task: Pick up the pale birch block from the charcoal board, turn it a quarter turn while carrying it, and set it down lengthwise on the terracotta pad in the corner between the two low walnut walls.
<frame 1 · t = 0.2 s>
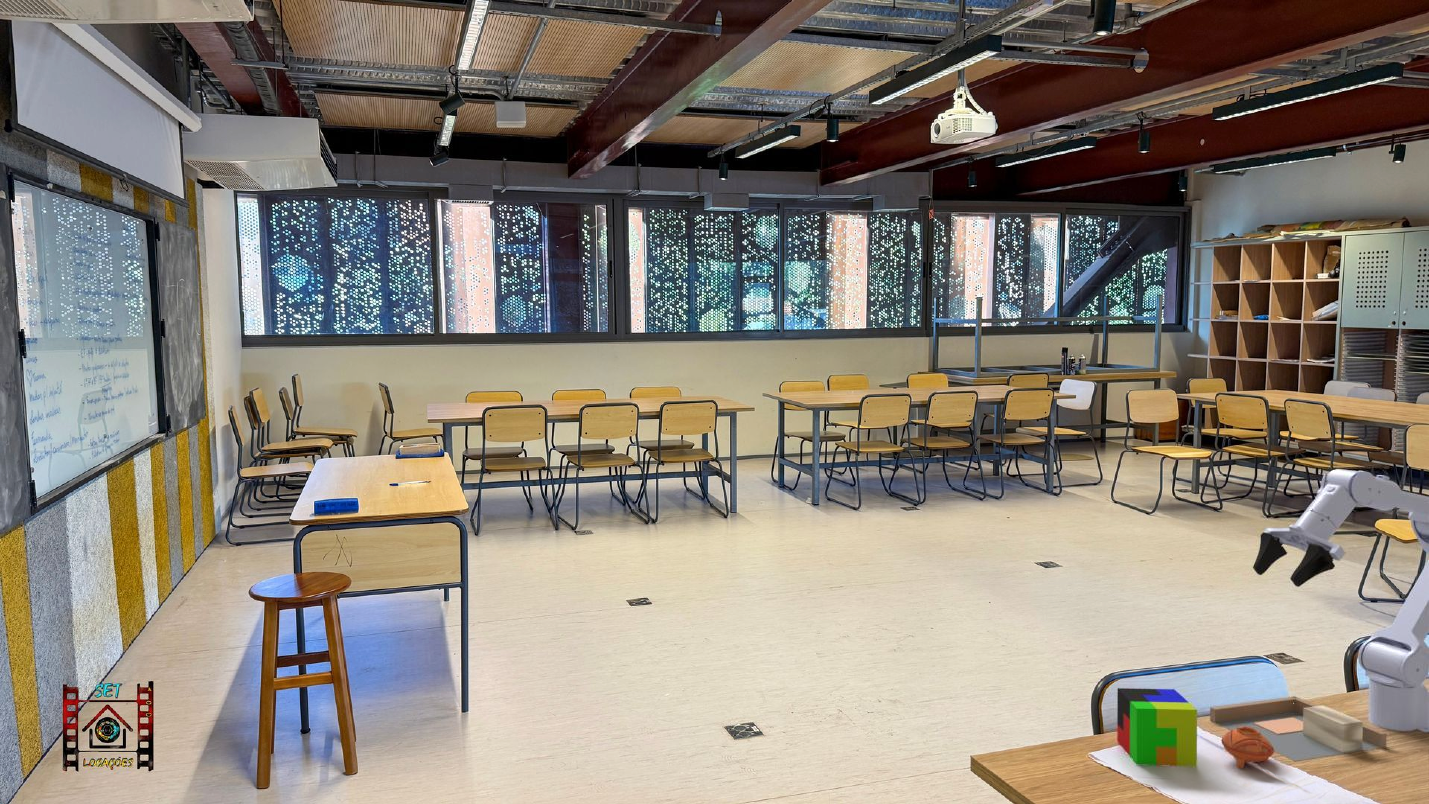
hand: (1275, 577, 166), 31 cm above the table, tool tilted 45°, fingers open, 7 cm apart
birch block: (1332, 741, 167), point 1 cm above the table, touching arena
pot: (1247, 765, 161), on the table
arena: (1294, 737, 171), on the table
puzzle toy: (1155, 754, 165), on the table
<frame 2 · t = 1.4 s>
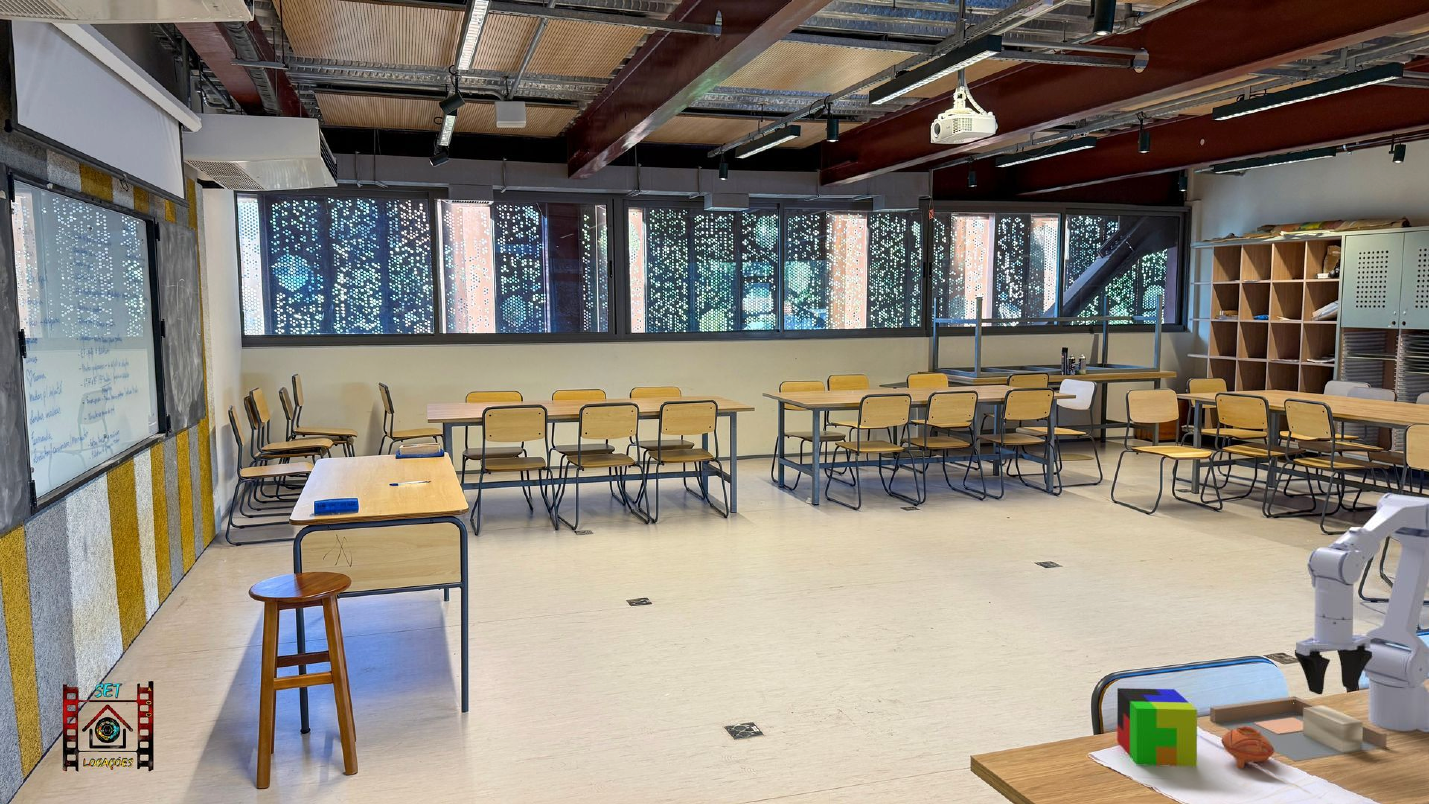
hand: (1332, 690, 167), 10 cm above the table, tool pointing down, fingers open, 7 cm apart
nothing on the table moved.
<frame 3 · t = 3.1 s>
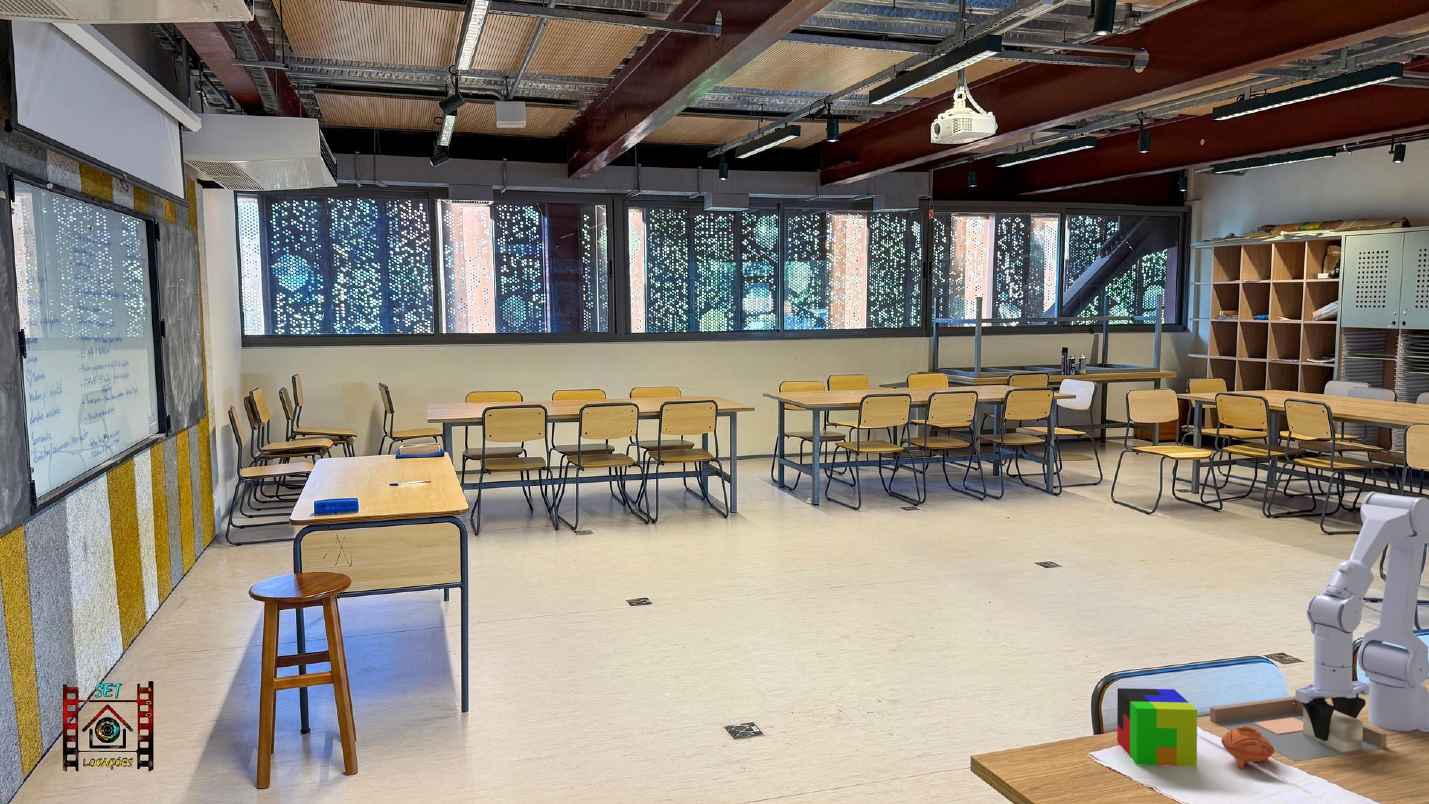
hand: (1332, 737, 167), 2 cm above the table, tool pointing down, fingers closed on birch block, 4 cm apart
birch block: (1332, 741, 167), point 1 cm above the table, touching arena, gripper
everything else where it was.
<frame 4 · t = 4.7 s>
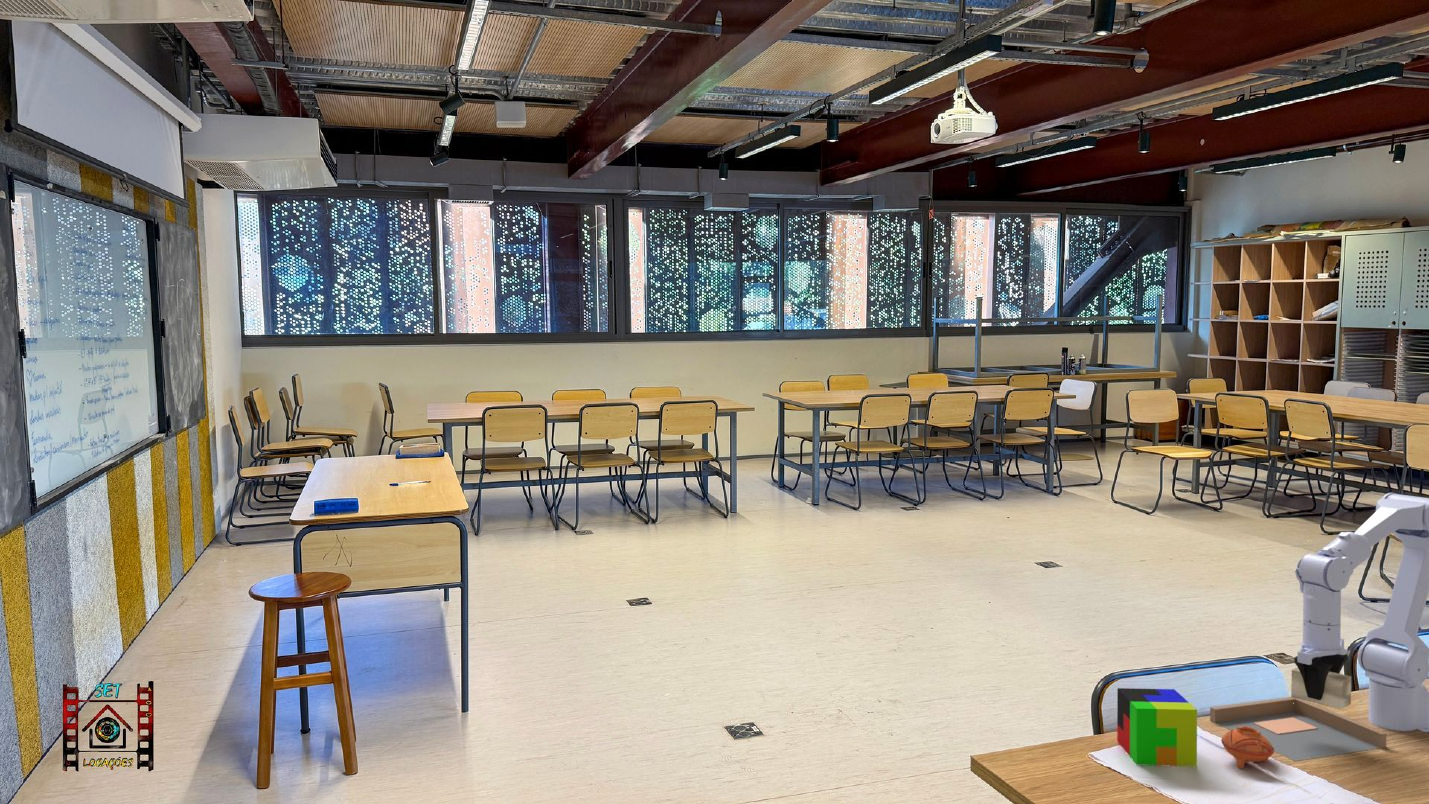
hand: (1320, 695, 168), 9 cm above the table, tool pointing down, fingers closed on birch block, 4 cm apart
birch block: (1320, 700, 168), point 8 cm above the table, touching gripper
everything else where it was.
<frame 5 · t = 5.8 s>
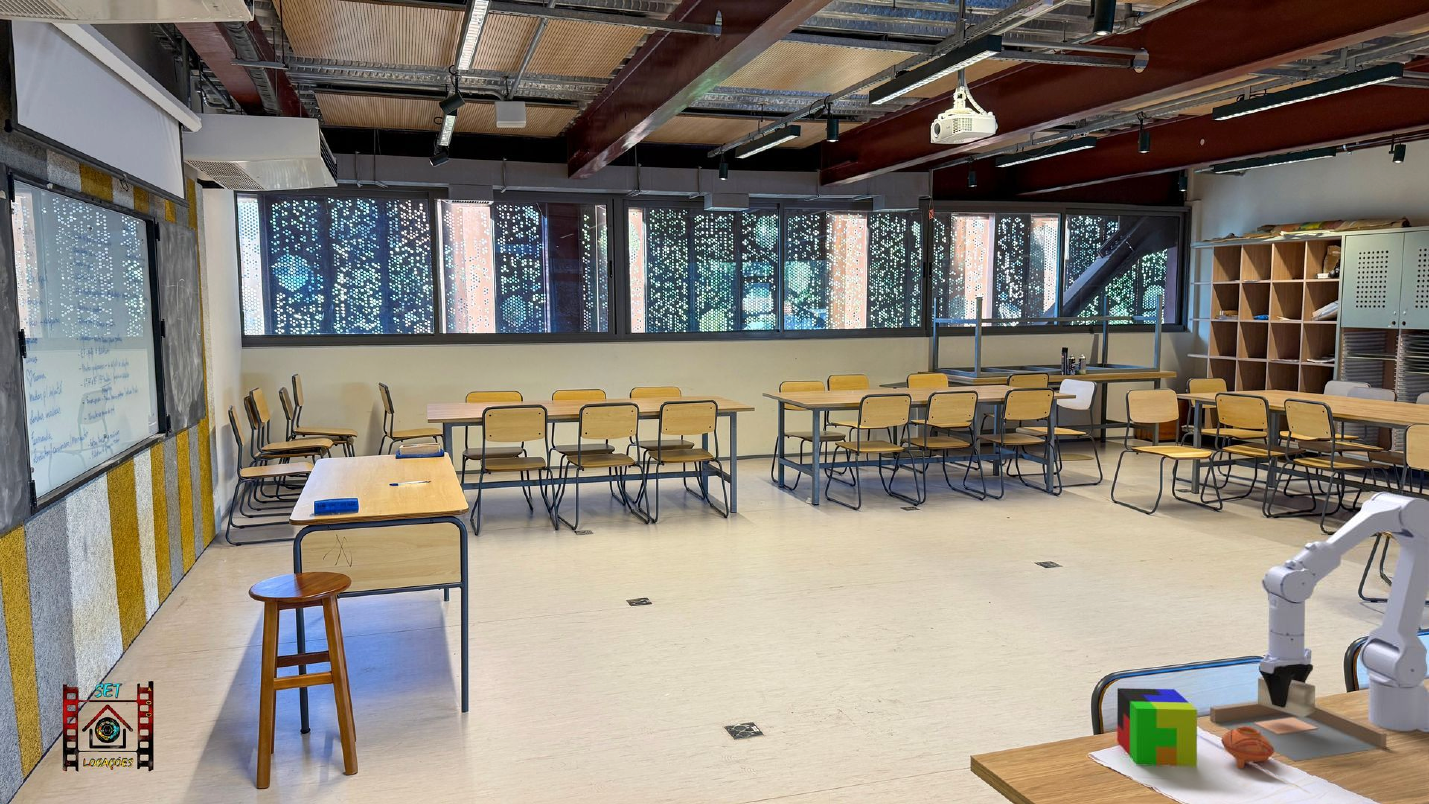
hand: (1285, 703, 174), 5 cm above the table, tool pointing down, fingers closed on birch block, 4 cm apart
birch block: (1285, 708, 174), point 4 cm above the table, touching gripper
everything else where it was.
when the fingers open (3 cm above the table, at t = 6.6 s): birch block drops 1 cm, resting on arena.
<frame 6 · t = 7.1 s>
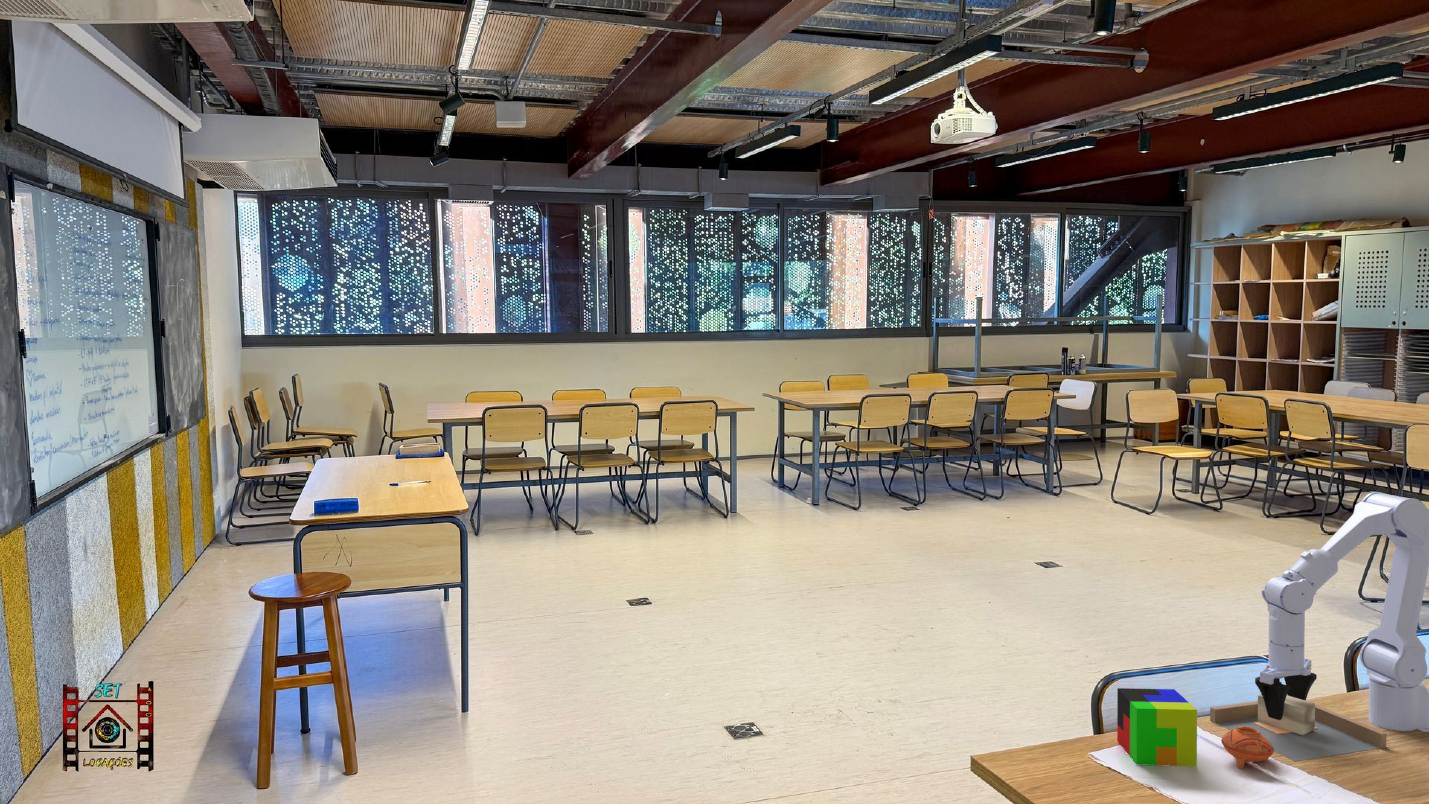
hand: (1285, 713, 174), 3 cm above the table, tool pointing down, fingers open, 7 cm apart
birch block: (1285, 725, 174), point 1 cm above the table, touching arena
everything else where it was.
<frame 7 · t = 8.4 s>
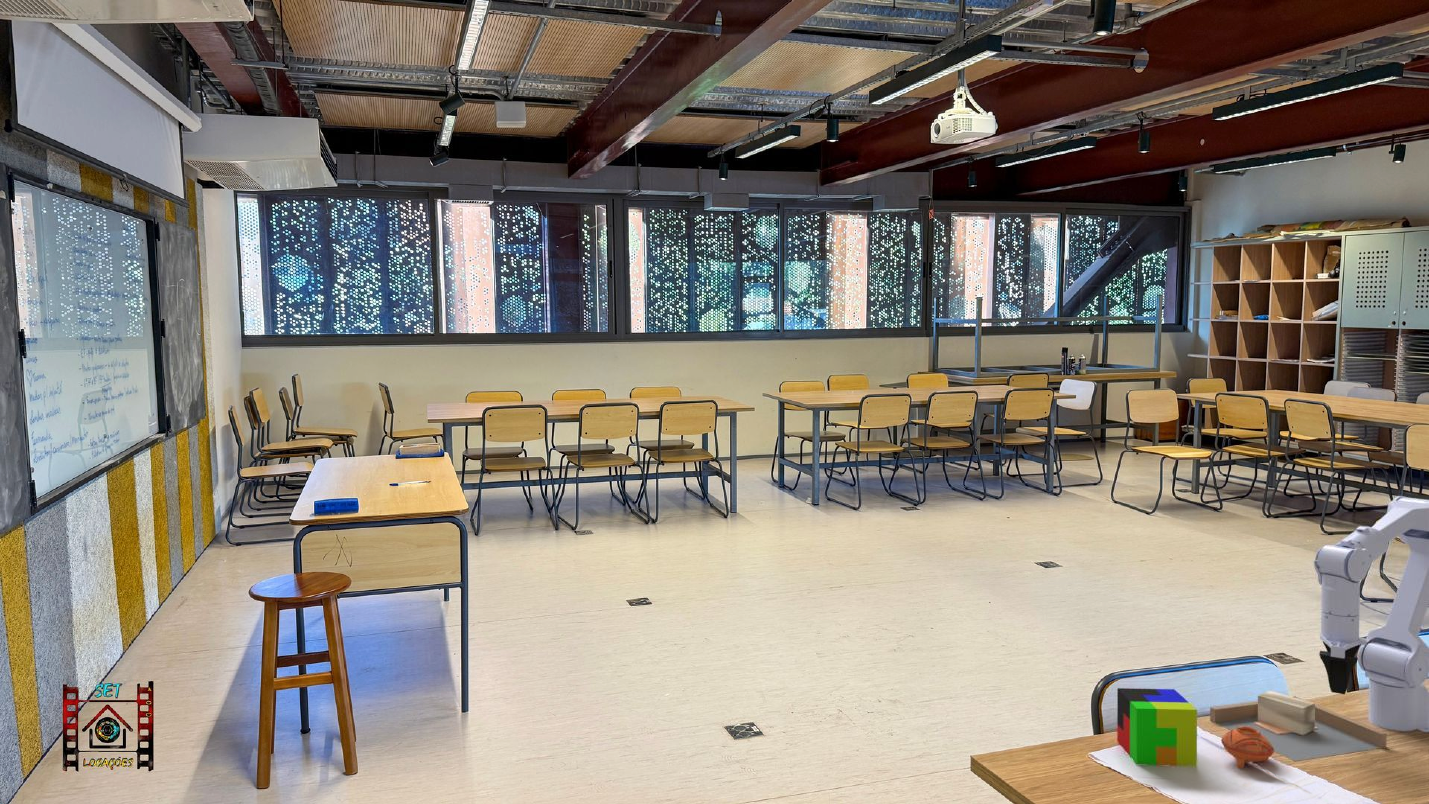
hand: (1339, 686, 168), 10 cm above the table, tool pointing down, fingers open, 7 cm apart
nothing on the table moved.
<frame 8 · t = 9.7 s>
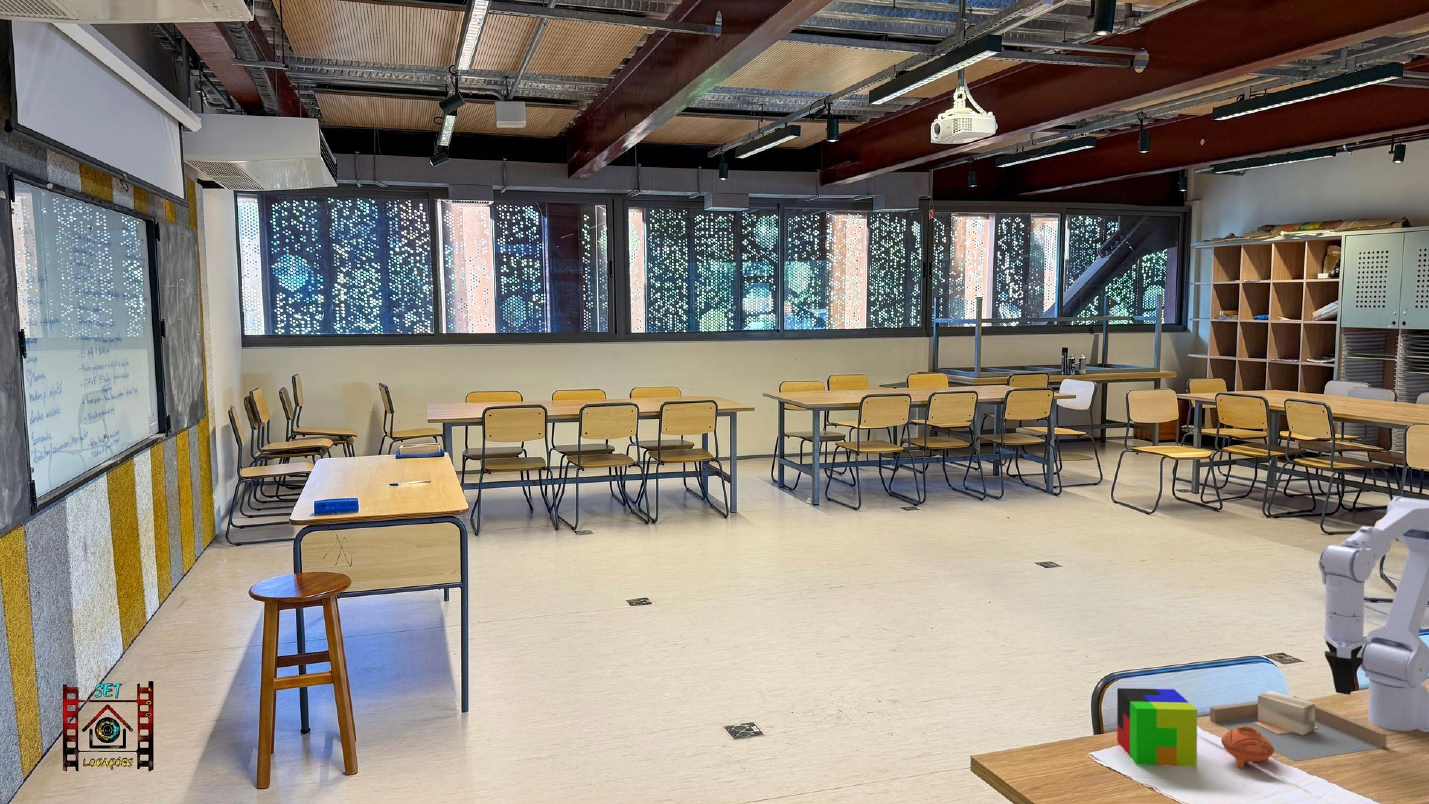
hand: (1343, 686, 168), 10 cm above the table, tool pointing down, fingers open, 7 cm apart
nothing on the table moved.
at the end: birch block 0.1 cm from the target spot on the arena, point 1.0 cm above the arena's base; birch block tilted 0°; the gripper is holding nothing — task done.
